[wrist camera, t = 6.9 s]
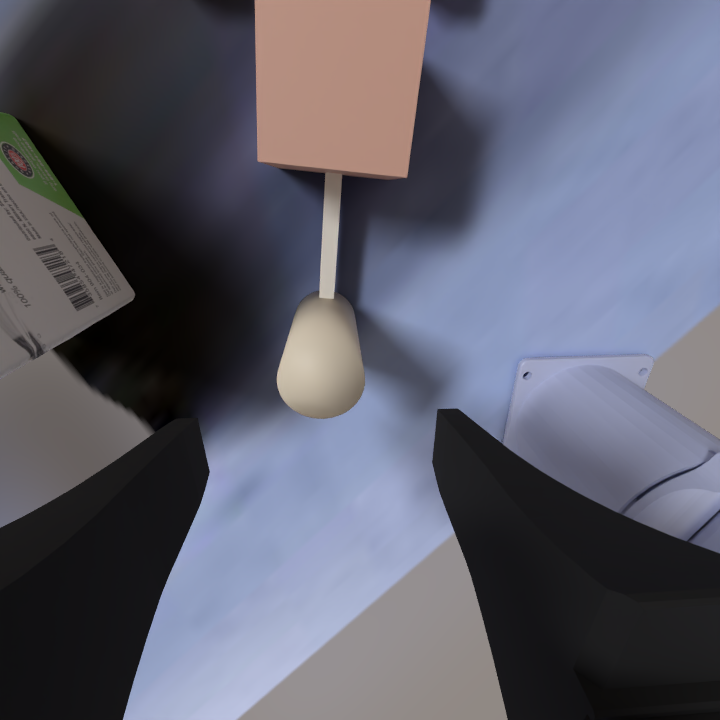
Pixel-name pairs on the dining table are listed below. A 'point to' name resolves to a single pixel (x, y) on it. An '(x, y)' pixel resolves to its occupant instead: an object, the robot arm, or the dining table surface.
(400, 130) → the pink handled block
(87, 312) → the ink box
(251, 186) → the dining table surface
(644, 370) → the robot arm
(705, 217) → the dining table surface
